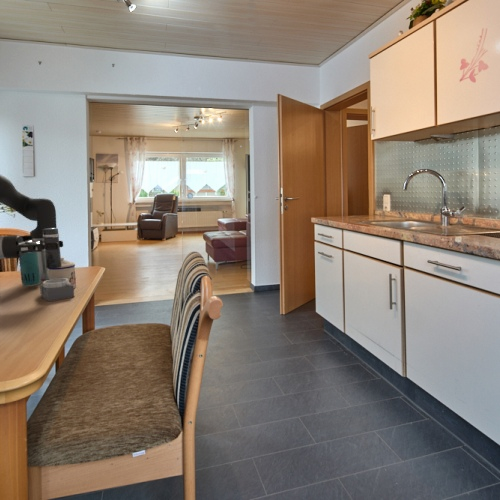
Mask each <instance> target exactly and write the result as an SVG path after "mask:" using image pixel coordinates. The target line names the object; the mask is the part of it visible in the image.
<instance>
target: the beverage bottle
mask: <svg viewBox="0 0 500 500" xmlns="http://www.w3.org/2000/svg"><path fill="white" fill-rule="evenodd" d="M20 236H21V237H22V238H23V241H24V242H25V241H28V240H33V238H32V236H31V235H30V234H27V235H25V234H24V235H20ZM18 262H19V271H20V279H21V280H20V281H21V284H22V286H24V287H27V286H28V287H30V286H36V285H41V281H42V280H40V272H39V264H38V255H37V252H31V253H24V255H23V257H21V258H18Z"/></svg>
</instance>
